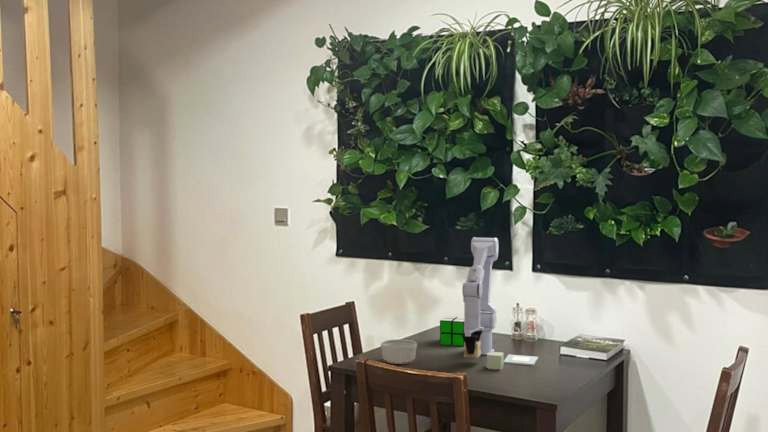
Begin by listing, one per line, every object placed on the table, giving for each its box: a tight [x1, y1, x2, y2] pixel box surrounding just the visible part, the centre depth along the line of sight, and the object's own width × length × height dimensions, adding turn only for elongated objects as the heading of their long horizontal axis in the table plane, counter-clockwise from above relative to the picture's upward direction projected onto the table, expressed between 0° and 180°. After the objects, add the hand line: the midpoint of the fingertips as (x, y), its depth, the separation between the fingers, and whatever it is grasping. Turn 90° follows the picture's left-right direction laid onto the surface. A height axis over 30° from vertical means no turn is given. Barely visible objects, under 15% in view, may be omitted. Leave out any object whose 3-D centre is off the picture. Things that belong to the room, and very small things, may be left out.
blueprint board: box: [504, 354, 539, 367], centre depth 271 cm, size 11×11×1 cm
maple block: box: [463, 341, 482, 359], centre depth 268 cm, size 5×5×5 cm
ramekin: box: [380, 338, 418, 363], centre depth 271 cm, size 13×13×7 cm
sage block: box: [486, 351, 505, 371], centre depth 262 cm, size 5×5×5 cm
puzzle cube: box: [439, 315, 465, 347], centre depth 299 cm, size 10×10×10 cm
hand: (472, 352), depth 268 cm, fingers closed on maple block, 5 cm apart
